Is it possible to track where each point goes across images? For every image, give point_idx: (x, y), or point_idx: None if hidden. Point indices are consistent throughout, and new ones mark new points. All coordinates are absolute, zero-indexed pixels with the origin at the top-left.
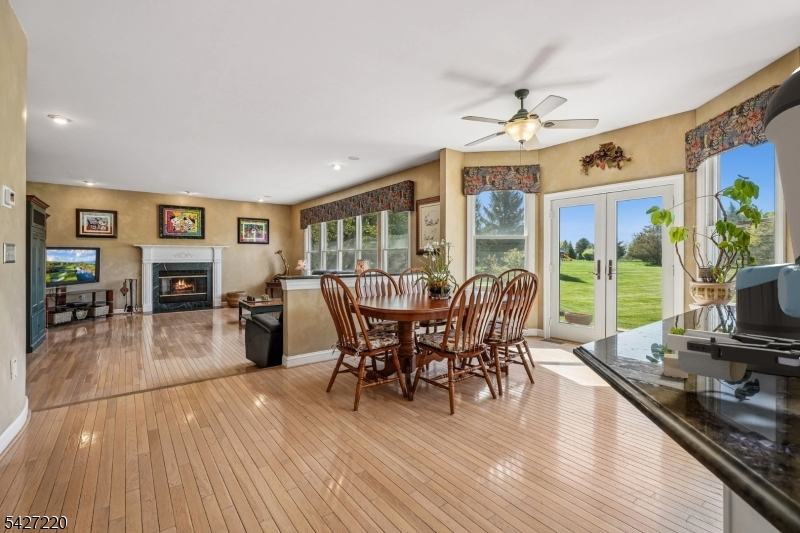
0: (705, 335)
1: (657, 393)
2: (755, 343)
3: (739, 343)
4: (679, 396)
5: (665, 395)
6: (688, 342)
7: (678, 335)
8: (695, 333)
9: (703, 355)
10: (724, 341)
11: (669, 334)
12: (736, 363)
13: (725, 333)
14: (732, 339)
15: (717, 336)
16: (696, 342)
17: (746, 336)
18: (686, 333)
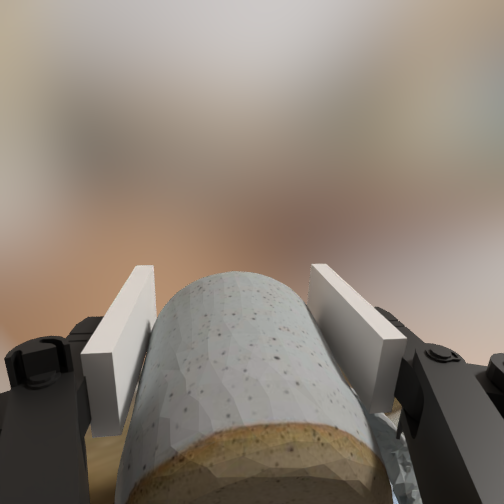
0: (224, 310)
1: (96, 439)
2: (457, 500)
3: (52, 497)
4: (107, 490)
5: (87, 461)
6: (80, 323)
7: (134, 279)
8: (221, 288)
9: (134, 405)
10: (195, 387)
11: (138, 268)
12: None
13: (388, 326)
14: (273, 392)
15: (258, 335)
16: (87, 336)
17: (464, 398)
18: (203, 279)
